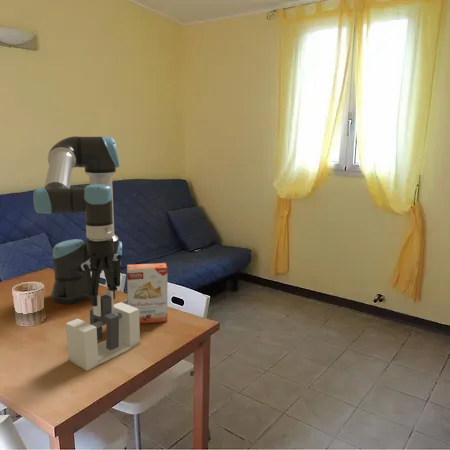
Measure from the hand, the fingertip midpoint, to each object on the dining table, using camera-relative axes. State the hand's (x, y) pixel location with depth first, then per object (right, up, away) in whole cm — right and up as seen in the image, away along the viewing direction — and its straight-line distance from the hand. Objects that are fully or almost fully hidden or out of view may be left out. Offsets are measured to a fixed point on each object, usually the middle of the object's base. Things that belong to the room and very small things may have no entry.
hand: (103, 312), depth 126 cm
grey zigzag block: (0, -10, +2) cm, 10 cm away
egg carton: (+3, -6, +36) cm, 36 cm away
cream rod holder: (0, -13, +3) cm, 13 cm away
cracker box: (+9, -8, +25) cm, 28 cm away
